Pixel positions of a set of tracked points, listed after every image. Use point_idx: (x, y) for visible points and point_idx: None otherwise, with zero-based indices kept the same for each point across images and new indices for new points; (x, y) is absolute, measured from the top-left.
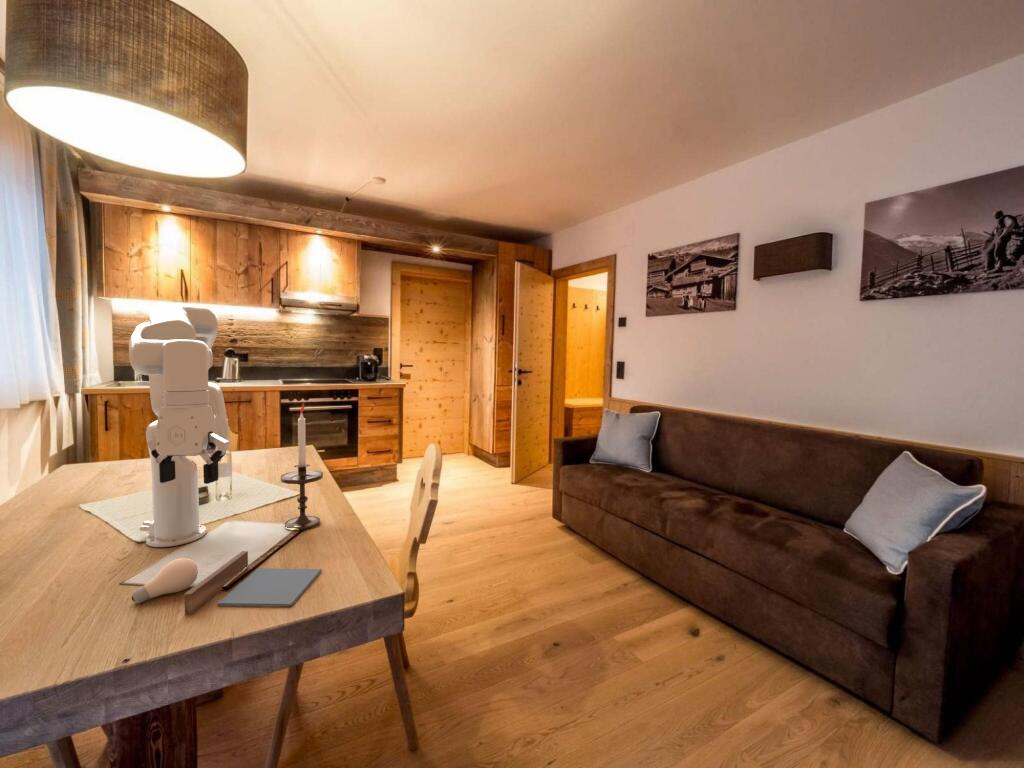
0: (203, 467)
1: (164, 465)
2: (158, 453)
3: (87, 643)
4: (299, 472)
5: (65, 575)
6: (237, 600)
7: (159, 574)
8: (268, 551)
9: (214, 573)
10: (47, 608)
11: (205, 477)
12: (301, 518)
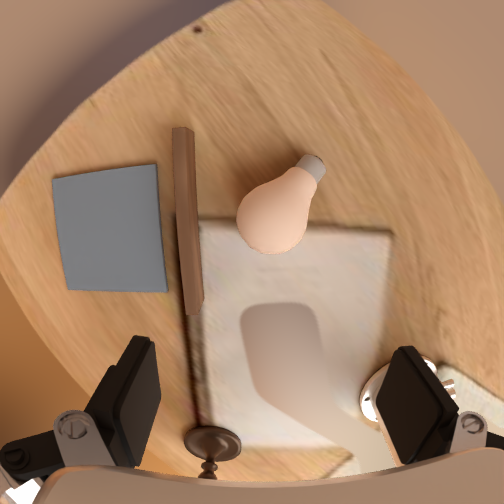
0: (124, 402)
1: (430, 415)
2: (493, 448)
3: (290, 55)
4: None
5: (478, 255)
6: (128, 176)
7: (292, 190)
8: (202, 361)
9: (183, 212)
10: (435, 154)
11: (129, 354)
12: (209, 449)
